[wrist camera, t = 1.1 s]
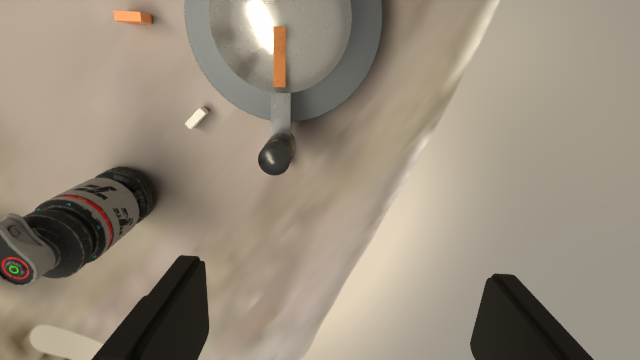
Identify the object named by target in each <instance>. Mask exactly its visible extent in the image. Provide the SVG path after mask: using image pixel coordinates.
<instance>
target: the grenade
mask: <svg viewBox="0 0 640 360" xmlns="http://www.w3.org/2000/svg"><path fill="white" fill-rule="evenodd" d="M155 199H156V198H155V192H154V189H153V187H152V185H151V183H150V182H149V181H148V180H147V178H146V177H145V176H143V175H142V174H141V173H139V172H137V171H135V170H133V169H130V168H126V167H117V168H112V169H110V170H107V171H105V172H104V173H101V174H99V175H98V176H96V177H95V178H93V179H90V180H88V181H86V182H84V183H82V184H80V185H78V186H76V187H74V188H72V189H70V190H68V191H66V192H63V193H61V194H59V195H57V196H55V197H53V198H52V199H50V200H47V201H45V202H44V203H42V204H40V205H39V206H38V207H37V208H36V209H35V211H34V212H32V213H30V214H28V215H26V216H24V217H21V216H19V215H17V214H8V215H6V216H4V217H3V218H2V220H1V221H0V277H1V278H2V279H3V280H5V281H7V282H8V283H11V284H14V285H19V286H25V285H29V284H31V283H33V282H34V281H35V280H37V279H38V278H39V277H41V276H44V277H48V278H65V277H68V276H71V275H72V274H74V273H76V272H77V271H78V270H79V269H81V268H82V267H83V266H84V265H85V264H86V263H89V262H92V261H94V260H96V259H97V258H99V257H100V256H101V255H102V254H103V253H104V252H106V251H107V250H108V249H109V248H110V247H111V246H113V245H114V244H115V243H116V242H117V241H118V240H119V239H121V238H122V237H123V236H124V235H125V234H126V233H128V232H129V231H130V230H131V229H132V228H133V227H134V226H135V225H136V224H137V223H139V222H140V221H142V220H143V219H144V218H145V217H146V216H147V215H148V214H150V212H151V211H152V210H153V208H154V205H155Z"/></svg>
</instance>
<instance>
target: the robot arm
mask: <svg viewBox="0 0 640 360" xmlns="http://www.w3.org/2000/svg"><path fill="white" fill-rule="evenodd" d="M208 332H209V317H208V301H207V286H206V270H205V262H204V261H200V259H199V257H198V256H184V255H181V256H179V257H178V258H177V259H176V261H175V262H174V263H173V264H172V266H171V267H170V268H169V269H168V271H167V272H166V273H165V274H164V276H163V277H162V278H161V279H160V281H159V282H158V283H157V284H156V286H155V287H154V288H153V289H152V291H151V292H150V293H149V294H148V295H146V296H144V297H143V298H142V299H141V300H140V301H139V302H138V303H137V305H136V306H135V307H134V308H133V309H132V311H131V312H130V313H129V314H128V316H127V317H126V318H125V319H124V320H123V322H122V323H121V324H120V325H119V327H118V328H117V329H116V330H115V331H114V333H113V334H112V335H111V336H110V338H109V339H108V340H107V341H106V343H105V344H104V345H103V346H102V348H101V349H100V350H99V351H98V352H97V354H96V355H95V356H94V357H93V359H92V360H198V357H199V355H200V353H201V351H202V348H203V346H204V344H205V342H206V339H207V337H208ZM470 345H471V351H472V354H473V356H474V358H475V360H593V358H592V357H591V356H590V355H589V354H588V353H587V352H586V351H585V350H584V349H583V348H582V347H581V346H580V345H579V344H578V342H577V341H576V340H575V339H574V338H573V337H572V336H571V335H570V334H569V333H568V332H567V331H566V330H565V329H564V328H563V326H562V325H561V324H560V323H559V322H558V321H557V320H556V319H555V318H554V317H553V316H552V315H551V314H550V313H549V311H548V310H547V309H546V308H545V307H544V306H543V305H542V304H541V303H540V302H539V301H538V300H537V299H536V298H535V296H533V295H532V293H531V292H530V291H529V290H528V289H527V288H526V287H525V286H524V285H523V284H522V283H521V282H520V281H519V279H518V278H517V277H516V276H514V275H509V274H493V276H492V277H491V278H488V279H487V281H486V284H485V288H484V292H483V296H482V300H481V303H480V307H479V311H478V315H477V319H476V322H475V326H474V330H473V334H472V338H471V342H470Z"/></svg>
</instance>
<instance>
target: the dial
mask: <svg viewBox="0 0 640 360" xmlns="http://www.w3.org/2000/svg"><path fill="white" fill-rule="evenodd" d="M209 22H210V28H211V32H212V36H213V39H214V42H215V44H216V47H217V49H218V51H219V53H220V55H221V56H222V58H223V59H224V61H225V62H226V64H227V65H228V66H229V67H230V68H231V70H232V71H233V72H234V73H235V74H236V75H238V76H239V77H240V78H241V79H243V80H244V81H245V82H247V83H249V84H250V85H252V86H254V87H256V88H259V89H261V90H264V91H268V92H271V137H270V139H269V140H268V142H267V143H266V145H265V146H264V147H263V149H262V150H261V152H260V154H259V157H258V162H259V166H260V167H261V169H262V170H263V171H264V172H265V173H267V174H270V175H280V174H282V173H284V172H285V171H286V170H287V169H288V167H289V164H290V161H291V158H292V154H293V151H294V148H295V145H296V141H295V138H294V136H293V134H292V133H291V131H292V93H293V92H298V91H302V90H305V89H307V88H310V87H312V86H314V85H315V84H317V83H319V82H320V81H322V80H323V79H324V78H325V77H326V76H328V75H329V74H330V72H331V71H332V70H333V69H334V68H335V67H336V65H337V64H338V62H339V61H340V59H341V57H342V56H343V54H344V52H345V49H346V46H347V44H348V40H349V36H350V32H351V24H352V11H351V2H350V0H209Z"/></svg>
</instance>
